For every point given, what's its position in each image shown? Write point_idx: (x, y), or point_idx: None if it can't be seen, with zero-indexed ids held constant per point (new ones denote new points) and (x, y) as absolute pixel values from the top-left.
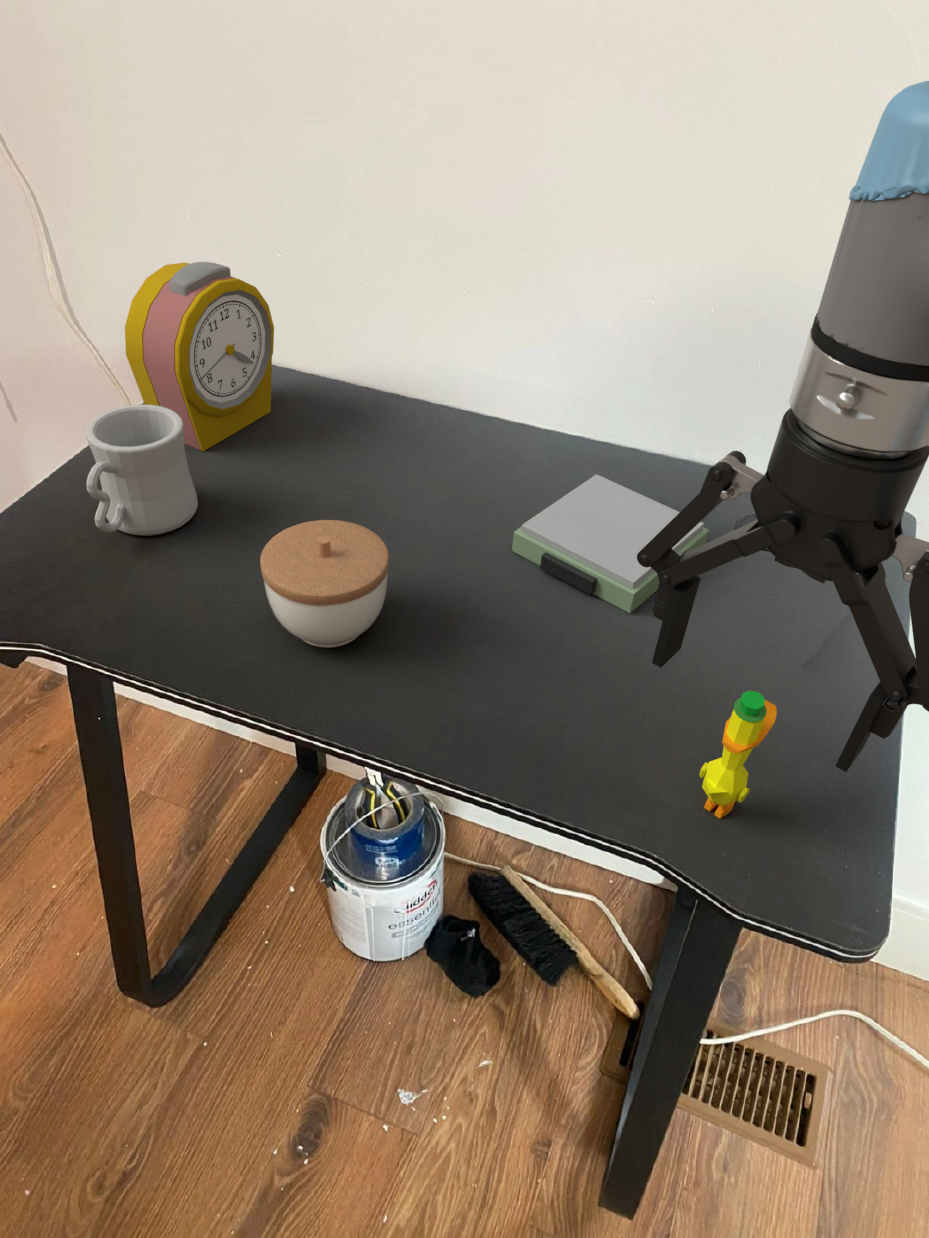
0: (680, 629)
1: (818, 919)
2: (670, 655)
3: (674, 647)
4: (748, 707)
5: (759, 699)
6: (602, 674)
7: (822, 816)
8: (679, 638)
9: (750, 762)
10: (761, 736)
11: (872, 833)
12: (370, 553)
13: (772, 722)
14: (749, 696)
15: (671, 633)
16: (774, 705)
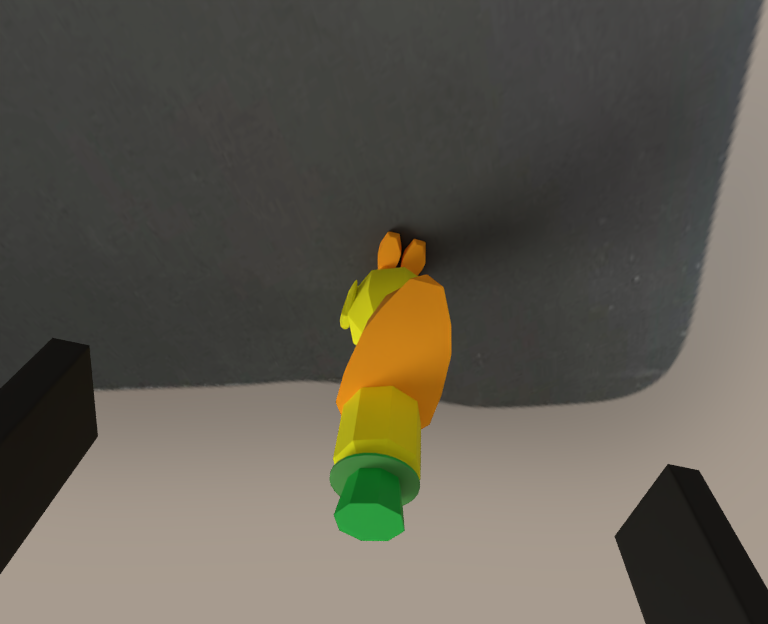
0: (18, 475)
1: (589, 380)
2: (84, 413)
3: (68, 422)
4: (366, 539)
5: (386, 518)
6: (19, 6)
7: (595, 188)
8: (50, 425)
9: (432, 116)
10: (429, 409)
11: (698, 183)
12: None
13: (445, 360)
14: (356, 517)
15: (9, 549)
16: (438, 290)
